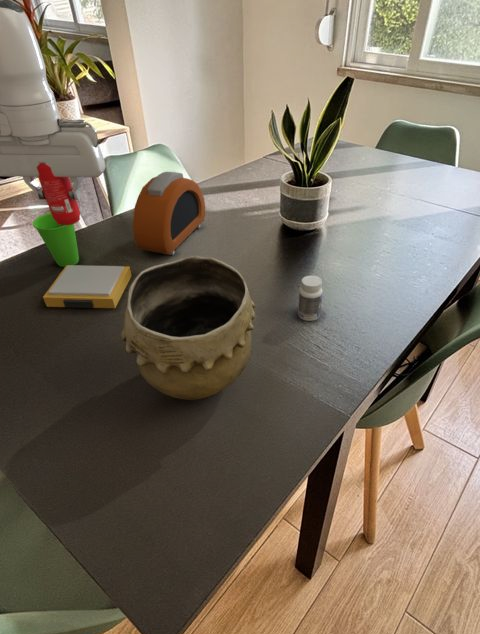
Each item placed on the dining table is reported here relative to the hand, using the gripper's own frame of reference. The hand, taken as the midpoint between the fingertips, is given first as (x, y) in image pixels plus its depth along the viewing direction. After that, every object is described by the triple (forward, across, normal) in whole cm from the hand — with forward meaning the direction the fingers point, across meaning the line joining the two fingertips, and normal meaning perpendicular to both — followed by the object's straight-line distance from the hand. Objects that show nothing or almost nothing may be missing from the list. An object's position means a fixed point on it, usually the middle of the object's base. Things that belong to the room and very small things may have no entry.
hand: (59, 198), depth 82 cm
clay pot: (+22, -29, +27) cm, 45 cm away
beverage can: (+5, 0, 0) cm, 5 cm away
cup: (+22, +10, -12) cm, 27 cm away
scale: (+21, 0, 0) cm, 21 cm away
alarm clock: (+22, -14, -25) cm, 36 cm away
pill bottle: (+22, -49, +7) cm, 54 cm away
